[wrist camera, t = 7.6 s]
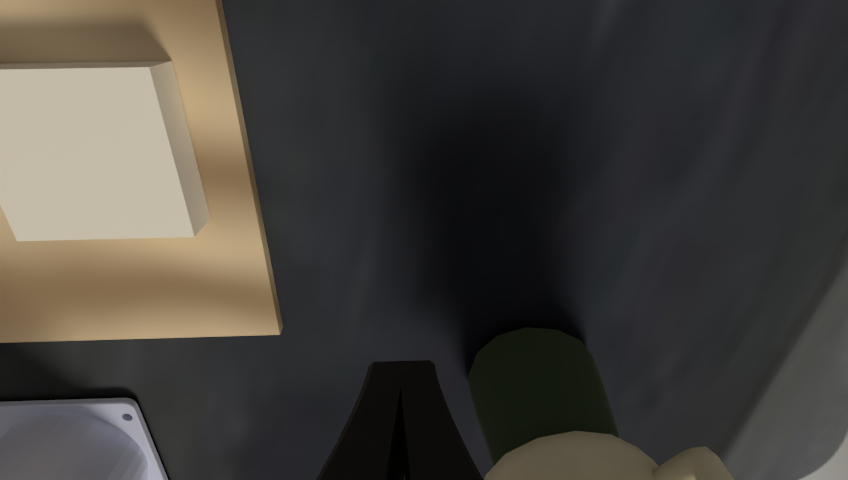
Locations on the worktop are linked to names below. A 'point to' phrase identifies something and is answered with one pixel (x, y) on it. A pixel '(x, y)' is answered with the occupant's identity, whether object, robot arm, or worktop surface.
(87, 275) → the wooden cutting board
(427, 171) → the worktop surface
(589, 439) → the character mug
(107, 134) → the tile
